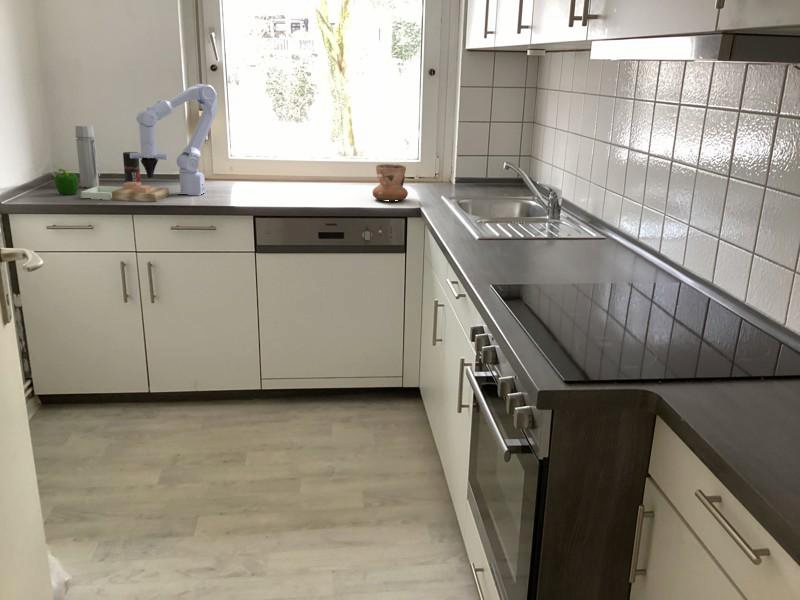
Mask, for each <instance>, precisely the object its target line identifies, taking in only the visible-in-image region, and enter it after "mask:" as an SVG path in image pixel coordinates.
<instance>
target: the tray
mask: <svg viewBox="0 0 800 600" xmlns="http://www.w3.org/2000/svg"><path fill="white" fill-rule="evenodd" d="M123 187H124V186H110V185H109V186H108V185H107V186H106V185H99V186H96V187H93V188H86V189H85V190H81V191H79V196H80V199H81V198H91V199H90V200H100V199H102V200H104V201H105V200H107V201H112V192H113V191H115V190H118V189H121V188H123Z"/></svg>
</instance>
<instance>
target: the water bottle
mask: <svg viewBox="0 0 800 600" xmlns="http://www.w3.org/2000/svg"><path fill="white" fill-rule="evenodd" d="M74 128H75V130H74V131H75V133H74V134H75V142H76V150H77V161H78V170H79V181H80V187H82V188H84V187H86V188H85V189H90V188H93V187H96V186H100V181H99V179H100V178H99V177H101V166H100V161H99V158H98V150H97V146H96V140H97V137H95V131H94V126H93V125H92V124H76V125H75V127H74Z"/></svg>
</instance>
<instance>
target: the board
mask: <svg viewBox="0 0 800 600" xmlns="http://www.w3.org/2000/svg"><path fill="white" fill-rule="evenodd" d="M122 187H123V188H121V189H118V190H115V191H113V192H112V199H111V201H128V200H129V201H132V202H133V201H134V202H149V201H154V202H155V203H156V201H157V202H158V200H159V201H160V199H161V200H163V199H165V198H167V197H169V196H170V192H169V187H151V191H150V192H147V193H133V189H124V186H122ZM168 195H169V196H168ZM166 196H167V197H166ZM164 197H165V198H164ZM162 198H163V199H162ZM154 202H153V203H154Z"/></svg>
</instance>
